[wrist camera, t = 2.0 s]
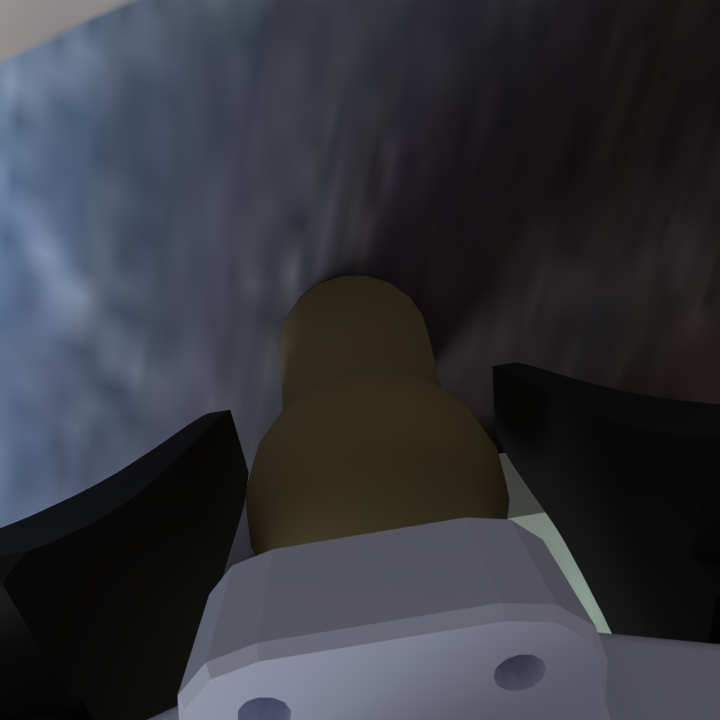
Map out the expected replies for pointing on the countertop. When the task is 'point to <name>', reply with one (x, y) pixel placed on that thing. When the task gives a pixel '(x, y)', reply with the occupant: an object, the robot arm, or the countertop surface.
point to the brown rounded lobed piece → (365, 427)
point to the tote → (548, 538)
